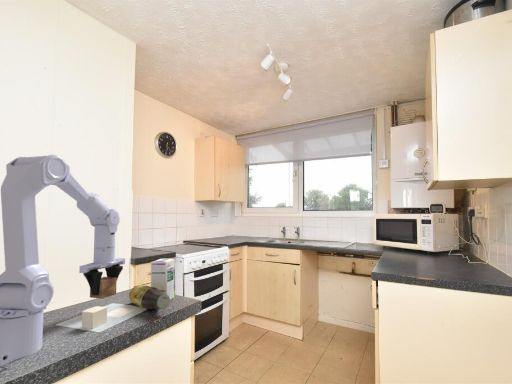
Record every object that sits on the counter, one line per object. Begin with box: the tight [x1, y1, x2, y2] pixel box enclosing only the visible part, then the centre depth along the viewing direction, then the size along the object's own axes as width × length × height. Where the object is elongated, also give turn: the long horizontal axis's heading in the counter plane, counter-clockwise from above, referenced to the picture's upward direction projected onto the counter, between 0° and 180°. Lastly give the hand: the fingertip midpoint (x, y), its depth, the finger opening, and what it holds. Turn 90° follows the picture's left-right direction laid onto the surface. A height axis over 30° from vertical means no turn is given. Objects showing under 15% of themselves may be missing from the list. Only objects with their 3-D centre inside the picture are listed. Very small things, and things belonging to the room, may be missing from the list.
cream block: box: [81, 305, 107, 329], centre depth 70 cm, size 4×4×4 cm
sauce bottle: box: [128, 284, 171, 310], centre depth 83 cm, size 7×6×20 cm
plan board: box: [55, 302, 149, 333], centre depth 76 cm, size 18×16×1 cm
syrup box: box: [150, 257, 176, 303], centre depth 89 cm, size 6×6×14 cm
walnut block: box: [89, 276, 118, 300], centre depth 82 cm, size 5×5×5 cm
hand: (103, 292), depth 81 cm, fingers closed on walnut block, 5 cm apart
